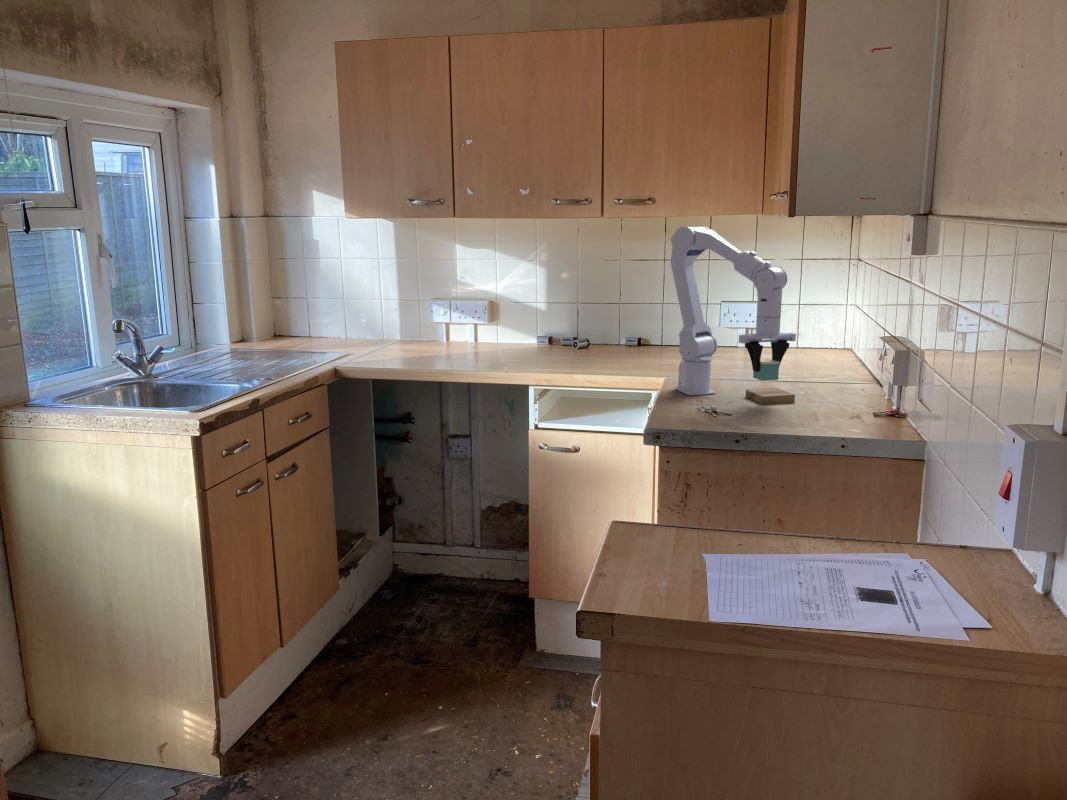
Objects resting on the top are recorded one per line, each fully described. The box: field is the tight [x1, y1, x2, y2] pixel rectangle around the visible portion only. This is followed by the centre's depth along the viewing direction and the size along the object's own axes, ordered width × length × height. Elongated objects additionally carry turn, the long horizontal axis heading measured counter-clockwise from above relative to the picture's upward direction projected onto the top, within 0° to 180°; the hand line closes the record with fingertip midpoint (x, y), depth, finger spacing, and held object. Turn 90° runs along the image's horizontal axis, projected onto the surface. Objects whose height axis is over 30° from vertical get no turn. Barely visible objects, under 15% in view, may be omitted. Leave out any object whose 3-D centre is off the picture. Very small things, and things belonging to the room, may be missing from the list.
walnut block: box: [745, 387, 796, 405], centre depth 214 cm, size 9×9×2 cm
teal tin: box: [752, 358, 781, 382], centre depth 208 cm, size 5×5×5 cm
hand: (765, 370), depth 208 cm, fingers closed on teal tin, 5 cm apart
